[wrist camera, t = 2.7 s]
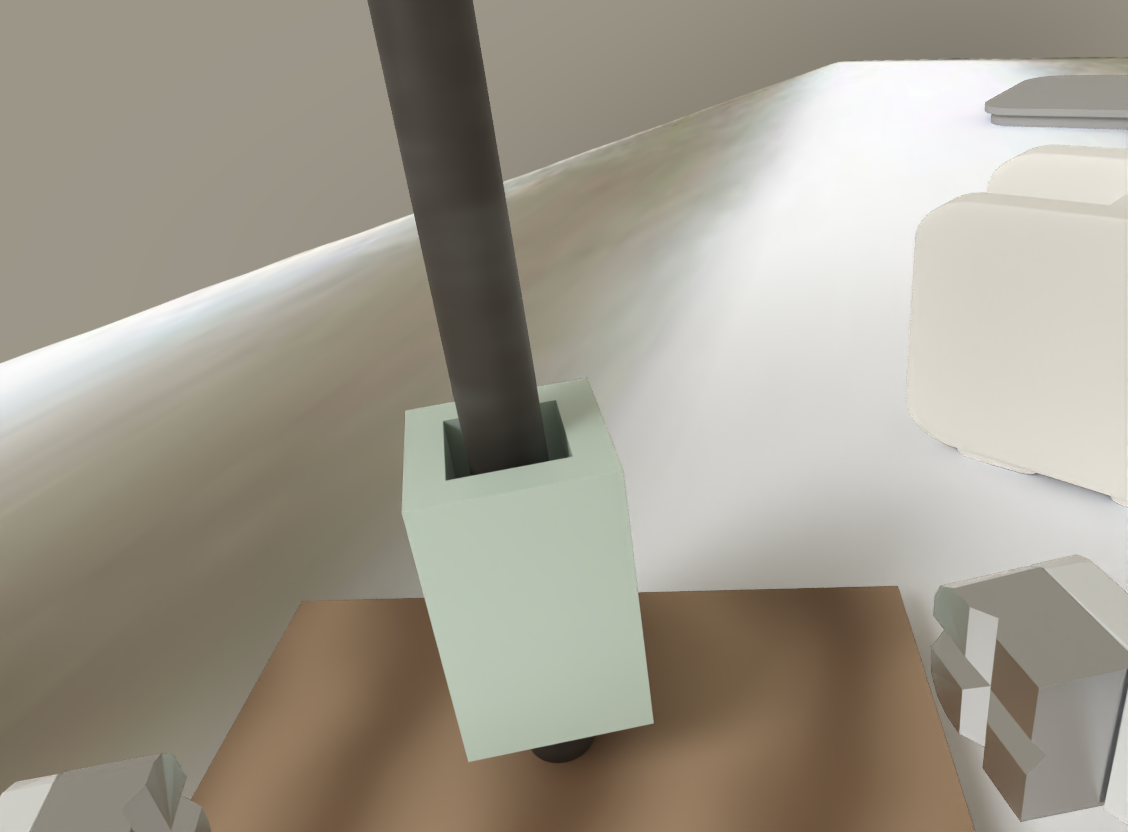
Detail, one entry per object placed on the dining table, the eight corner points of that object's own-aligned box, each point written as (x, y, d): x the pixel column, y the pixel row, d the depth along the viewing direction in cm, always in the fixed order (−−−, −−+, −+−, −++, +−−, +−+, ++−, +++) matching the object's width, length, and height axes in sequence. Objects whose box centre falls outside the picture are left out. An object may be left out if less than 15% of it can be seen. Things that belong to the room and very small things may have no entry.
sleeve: (468, 762, 23) (401, 512, 20) (461, 634, 28) (405, 410, 24) (653, 723, 24) (623, 470, 20) (617, 603, 28) (587, 377, 24)
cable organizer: (883, 438, 42) (893, 195, 36) (990, 355, 48) (1013, 134, 42) (1270, 564, 31) (1367, 248, 26) (1348, 438, 37) (1440, 158, 32)
